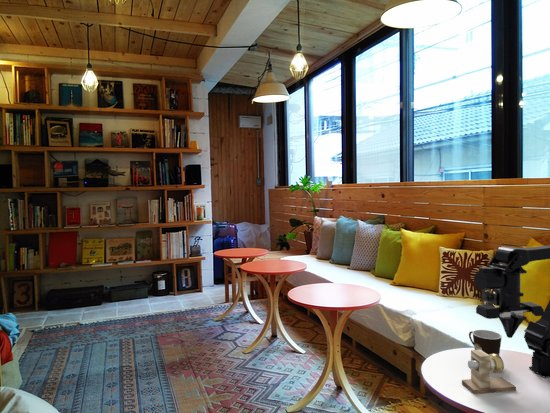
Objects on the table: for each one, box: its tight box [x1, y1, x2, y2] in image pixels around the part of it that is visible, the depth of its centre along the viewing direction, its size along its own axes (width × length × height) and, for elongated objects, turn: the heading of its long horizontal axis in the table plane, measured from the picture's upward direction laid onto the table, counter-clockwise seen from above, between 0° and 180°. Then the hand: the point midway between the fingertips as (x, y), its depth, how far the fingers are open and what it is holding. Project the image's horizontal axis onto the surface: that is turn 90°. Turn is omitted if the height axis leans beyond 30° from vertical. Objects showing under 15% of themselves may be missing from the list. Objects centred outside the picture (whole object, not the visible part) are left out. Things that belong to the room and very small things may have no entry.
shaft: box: [467, 354, 505, 374], centre depth 113 cm, size 9×5×5 cm, turn 96°
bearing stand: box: [461, 349, 517, 395], centre depth 113 cm, size 13×6×10 cm, turn 96°
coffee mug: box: [468, 329, 502, 356], centre depth 130 cm, size 12×9×10 cm
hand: (509, 337), depth 119 cm, fingers closed
